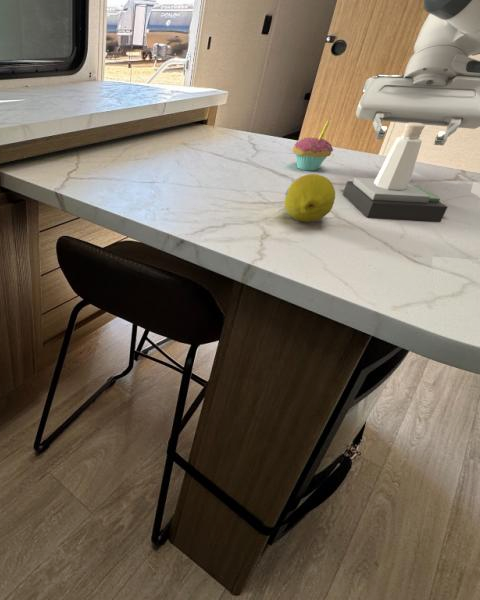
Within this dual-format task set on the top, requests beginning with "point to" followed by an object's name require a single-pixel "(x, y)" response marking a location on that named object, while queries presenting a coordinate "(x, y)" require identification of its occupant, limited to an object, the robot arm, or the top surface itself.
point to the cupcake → (312, 151)
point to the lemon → (309, 198)
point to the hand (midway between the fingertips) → (408, 140)
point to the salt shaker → (401, 159)
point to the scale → (394, 201)
